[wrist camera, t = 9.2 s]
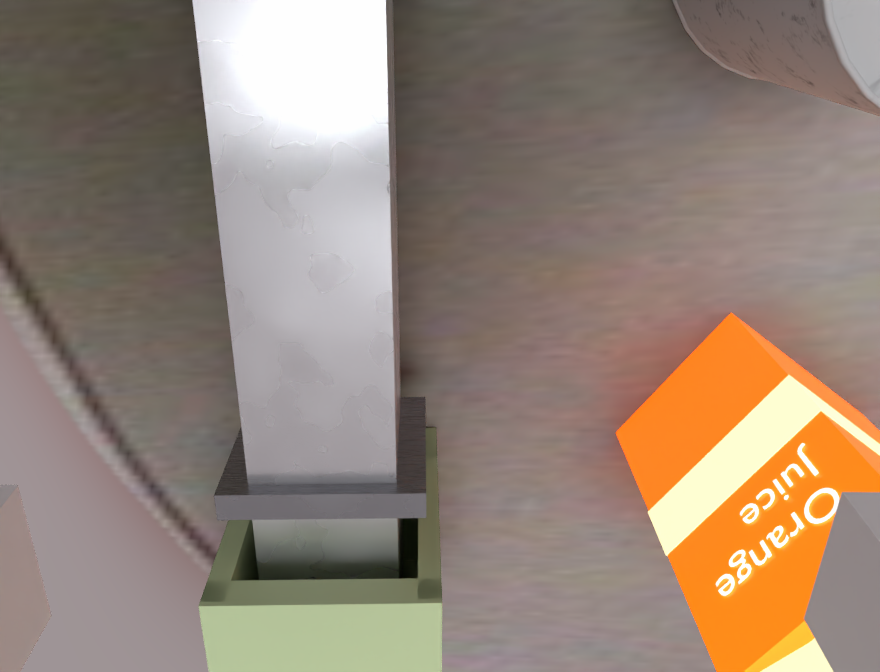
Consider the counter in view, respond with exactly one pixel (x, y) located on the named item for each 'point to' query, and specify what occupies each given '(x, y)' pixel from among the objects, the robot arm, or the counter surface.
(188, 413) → the counter surface
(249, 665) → the socket
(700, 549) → the orange juice
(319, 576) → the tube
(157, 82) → the counter surface
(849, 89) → the gray cylinder
